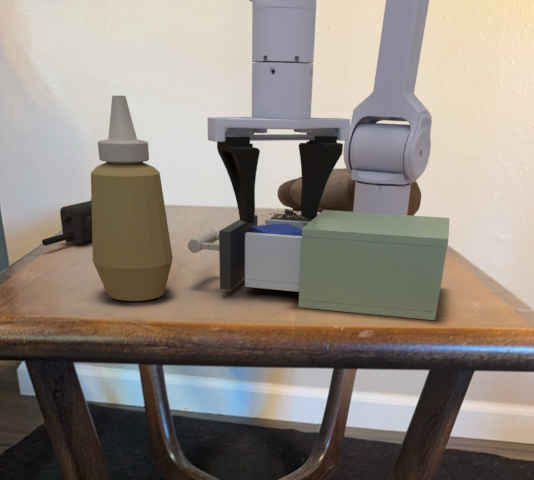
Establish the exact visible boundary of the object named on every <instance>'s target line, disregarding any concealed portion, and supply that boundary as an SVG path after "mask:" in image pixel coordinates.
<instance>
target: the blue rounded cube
mask: <svg viewBox="0 0 534 480" xmlns="http://www.w3.org/2000/svg"><path fill="white" fill-rule="evenodd" d="M251 232H252V233H266V234H279V235H293V236H302V229H300V228H297V227H295V226H292V225H289V224H273V225H266V224H257V226H251Z"/></svg>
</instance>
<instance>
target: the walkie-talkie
mask: <svg viewBox="0 0 534 480" xmlns="http://www.w3.org/2000/svg"><path fill="white" fill-rule="evenodd" d="M59 215H60V216H59V217H60V223H61V231H62V234H58V235H54V236H51V237H47V238H44V239H42V240H41V243H42V245H43V246H45V247H46V246H49V245H53V244H57V243H60V242H63V241H65V242H66V243H69V244H78V245H81V244H84V243H87V242H91V241H92V202H91V201H90V200H87V201H83V202H79V203H75V204H69V205H66V206H65V205H64V206H62V207H61V208H60V210H59Z"/></svg>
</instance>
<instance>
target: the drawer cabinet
mask: <svg viewBox="0 0 534 480" xmlns="http://www.w3.org/2000/svg"><path fill="white" fill-rule="evenodd" d="M449 235H450V217H442V216H441V217H440V216H426V215H425V216H424V215H423V216H422V215H414V216H411V215H395V214H379V213H364V212H348V211H332V210H323V211H322V212H319V213H317V215H316V217H315V218H314V219H313V220H311V221H310V222H309V223H308V224H307V225H306V226H304V227H303V228H302V242H301V263H300V284H299V292H298V308H302V309H303V308H304V309H312V310H322V311H332V312H342V313H343V312H344V313H353V314H354V313H355V314H362V315H363V314H364V315H374V316H386V317H395V318H406V319H417V320H426V321H427V320H428V321H436V318H437V317H436V316H437V311H438V307H439V306H438V304H439V299H440V293H441V287H442V280H443V276H444V275H443V274H444V268H445V263H446V256H447V250H448V244H449V237H450V236H449Z"/></svg>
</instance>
